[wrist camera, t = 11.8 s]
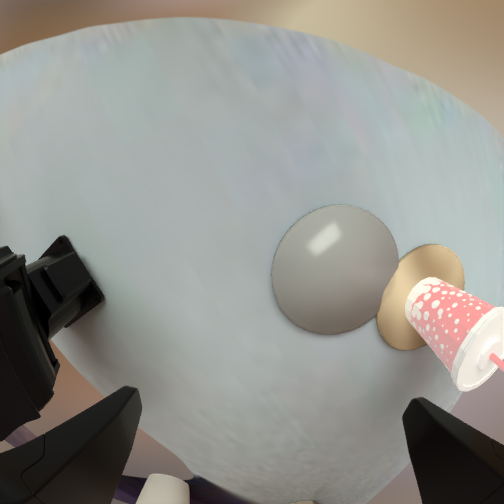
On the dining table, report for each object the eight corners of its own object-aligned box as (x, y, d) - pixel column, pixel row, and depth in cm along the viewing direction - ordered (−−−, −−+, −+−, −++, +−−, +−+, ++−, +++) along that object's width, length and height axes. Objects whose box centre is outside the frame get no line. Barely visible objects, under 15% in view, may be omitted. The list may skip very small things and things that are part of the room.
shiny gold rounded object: (392, 364, 22) (395, 367, 22) (359, 285, 20) (361, 288, 19) (466, 307, 21) (469, 309, 20) (447, 222, 19) (452, 223, 18)
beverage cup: (384, 312, 20) (487, 431, 6) (429, 253, 19) (562, 328, 5) (419, 342, 21) (503, 441, 7) (458, 291, 20) (561, 365, 6)
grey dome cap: (309, 350, 21) (311, 354, 21) (244, 251, 19) (244, 253, 19) (409, 287, 20) (412, 290, 20) (363, 179, 18) (367, 179, 17)
